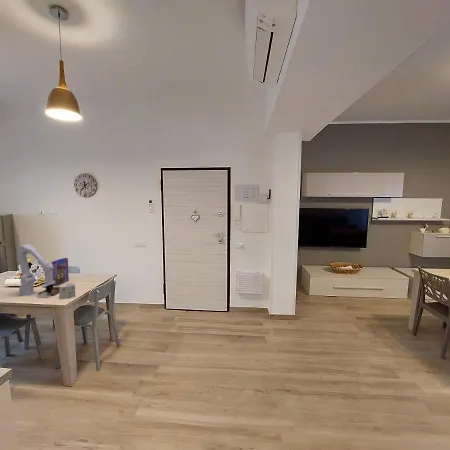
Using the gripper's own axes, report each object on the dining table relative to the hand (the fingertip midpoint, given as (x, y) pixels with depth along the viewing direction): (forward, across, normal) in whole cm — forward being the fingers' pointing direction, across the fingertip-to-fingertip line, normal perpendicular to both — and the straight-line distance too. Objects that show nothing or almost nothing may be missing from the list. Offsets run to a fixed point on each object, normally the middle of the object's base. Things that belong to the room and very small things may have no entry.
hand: (49, 293), depth 229 cm
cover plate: (+1, -5, 0) cm, 5 cm away
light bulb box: (+2, -5, -18) cm, 19 cm away
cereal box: (+2, +33, +9) cm, 34 cm away
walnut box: (+1, +4, 0) cm, 4 cm away
